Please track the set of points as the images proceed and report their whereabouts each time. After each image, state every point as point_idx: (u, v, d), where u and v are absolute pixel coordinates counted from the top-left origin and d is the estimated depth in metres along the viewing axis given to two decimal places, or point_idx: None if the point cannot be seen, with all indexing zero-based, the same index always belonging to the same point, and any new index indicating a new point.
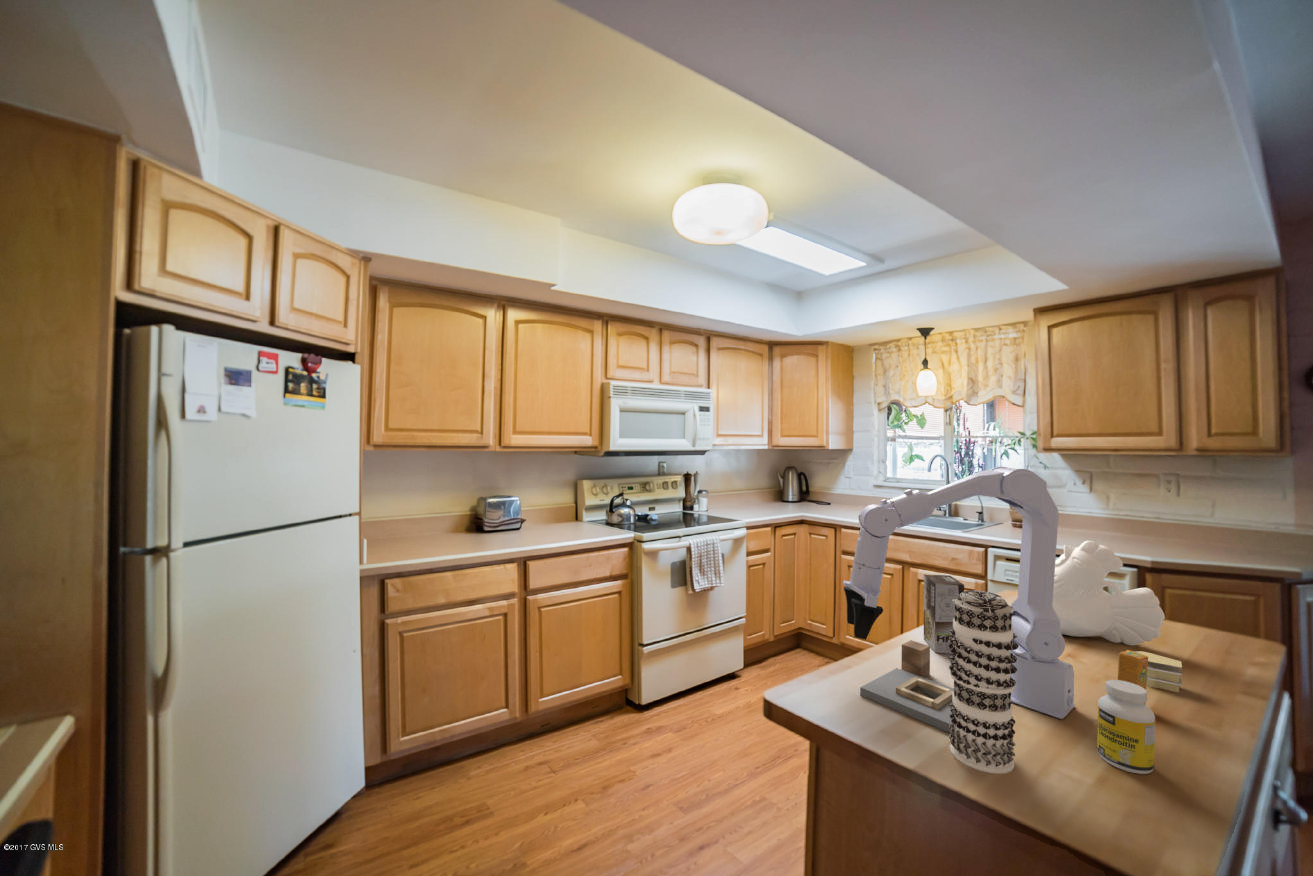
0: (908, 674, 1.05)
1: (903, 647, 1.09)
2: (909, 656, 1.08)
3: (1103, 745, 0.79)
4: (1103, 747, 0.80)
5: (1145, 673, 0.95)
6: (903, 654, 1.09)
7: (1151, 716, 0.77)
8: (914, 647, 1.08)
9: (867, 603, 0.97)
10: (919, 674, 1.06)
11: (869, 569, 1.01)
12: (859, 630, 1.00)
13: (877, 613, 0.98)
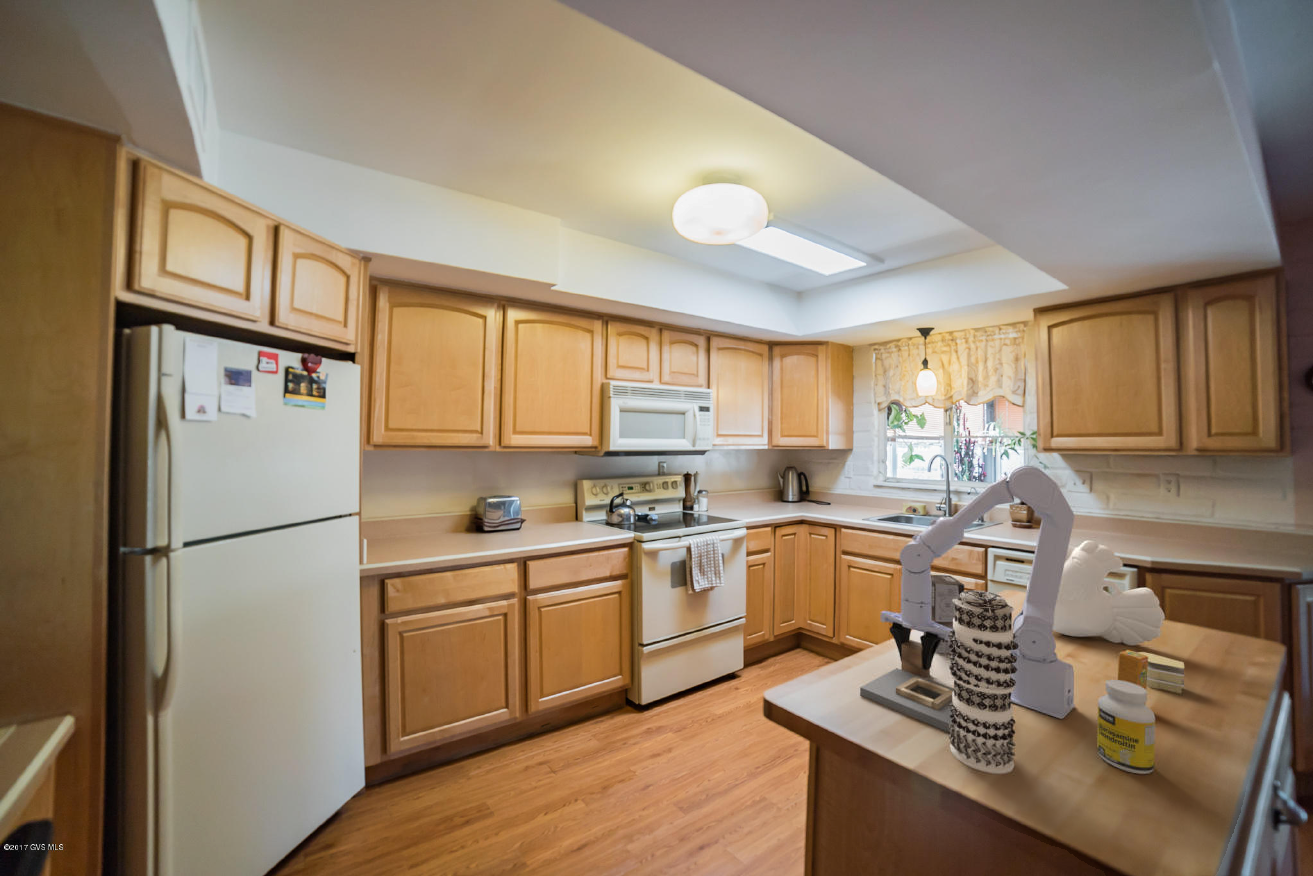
0: (908, 674, 1.05)
1: (903, 647, 1.09)
2: (909, 656, 1.08)
3: (1103, 745, 0.79)
4: (1103, 747, 0.80)
5: (1145, 673, 0.95)
6: (903, 654, 1.09)
7: (1151, 716, 0.77)
8: (914, 646, 1.08)
9: None
10: (919, 674, 1.06)
11: (929, 605, 1.07)
12: (928, 662, 1.07)
13: (940, 640, 1.07)
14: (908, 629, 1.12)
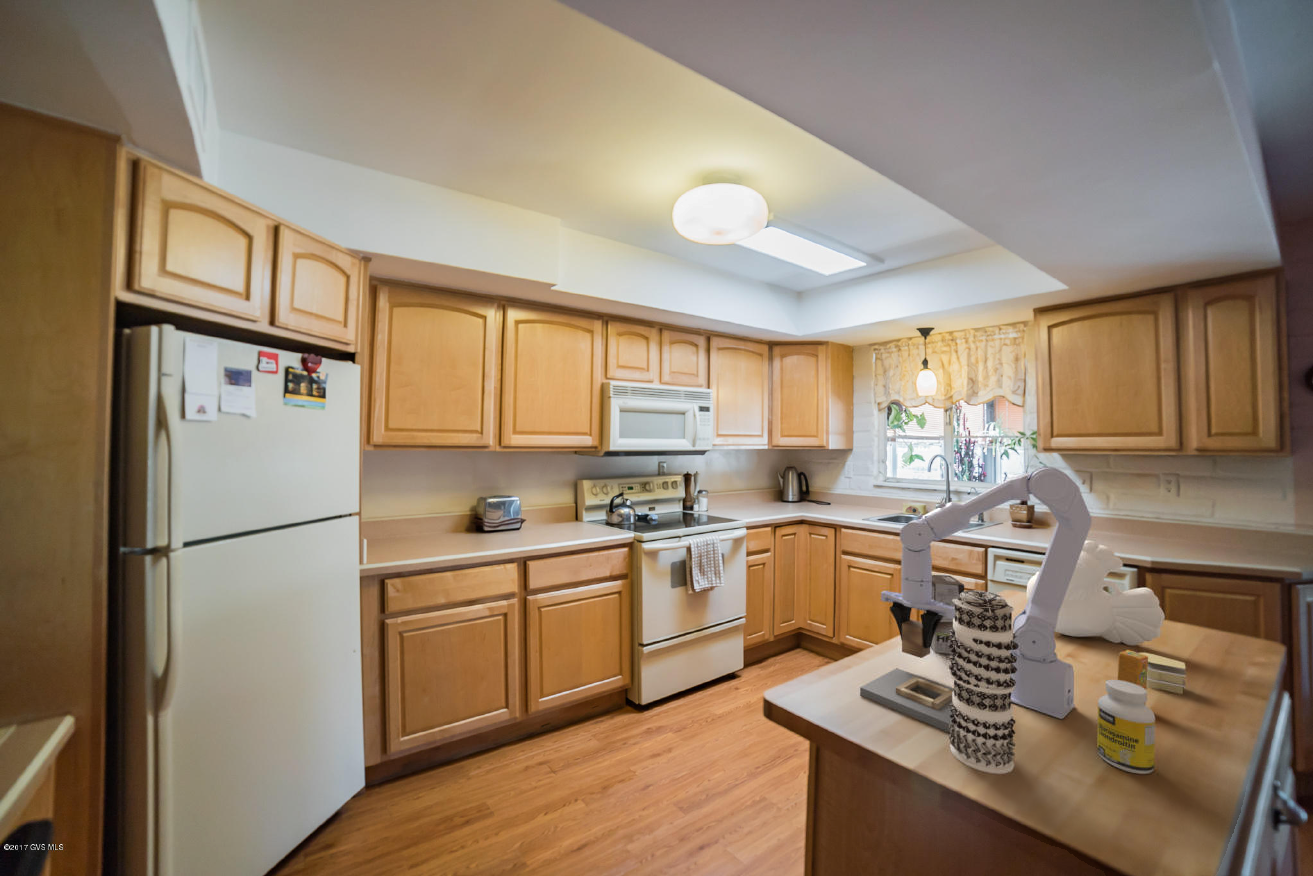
0: (908, 674, 1.05)
1: (903, 626, 1.09)
2: (909, 634, 1.08)
3: (1103, 745, 0.79)
4: (1103, 747, 0.80)
5: (1145, 673, 0.95)
6: (903, 633, 1.09)
7: (1151, 716, 0.77)
8: (915, 625, 1.08)
9: (951, 616, 1.03)
10: (919, 652, 1.06)
11: (929, 583, 1.07)
12: (928, 640, 1.07)
13: (941, 618, 1.07)
14: (908, 608, 1.12)
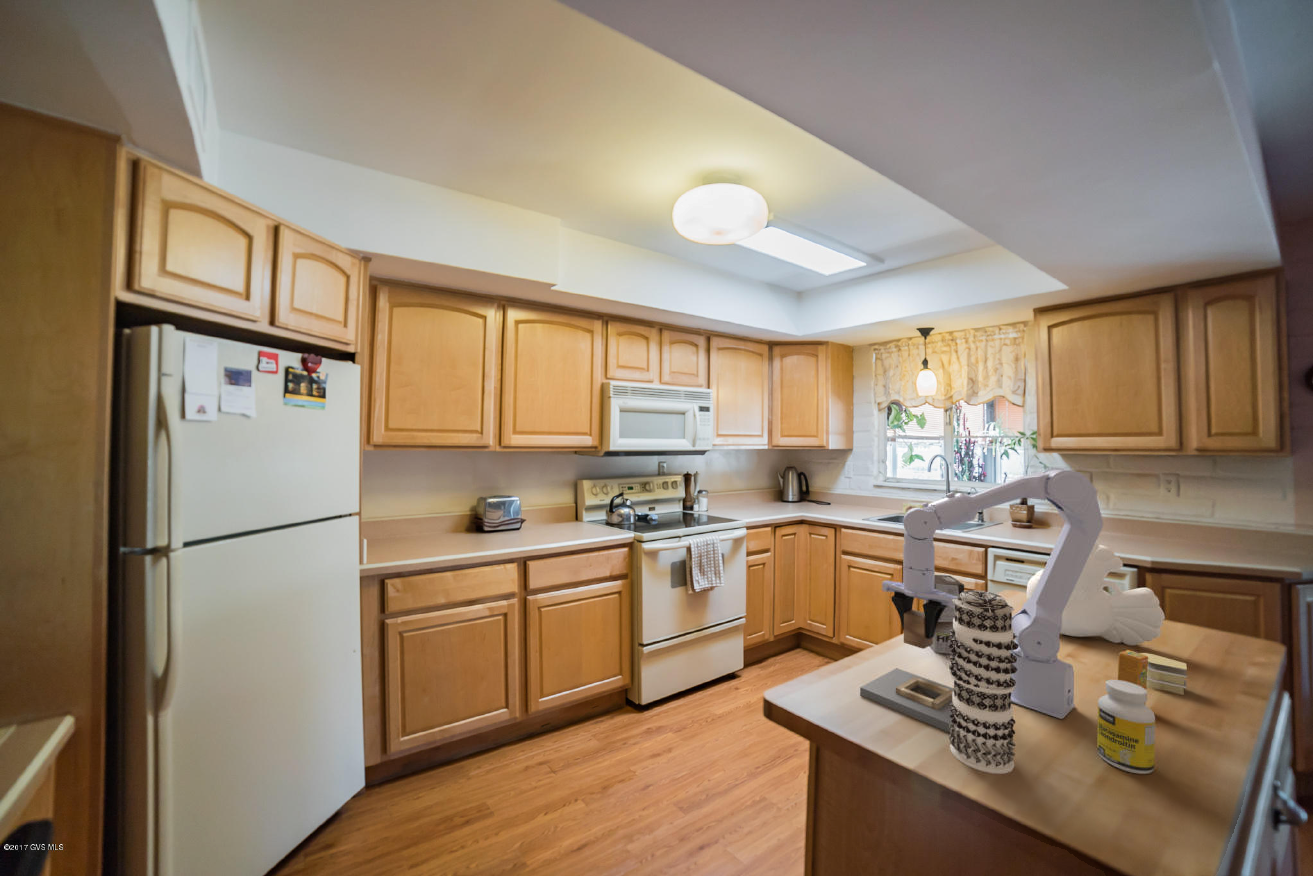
0: (908, 674, 1.05)
1: (905, 616, 1.06)
2: (911, 625, 1.05)
3: (1103, 745, 0.79)
4: (1103, 747, 0.80)
5: (1145, 673, 0.95)
6: (905, 623, 1.06)
7: (1151, 716, 0.77)
8: (917, 615, 1.05)
9: (954, 605, 1.00)
10: (922, 643, 1.04)
11: (932, 572, 1.04)
12: (931, 630, 1.04)
13: (944, 608, 1.04)
14: (910, 598, 1.09)
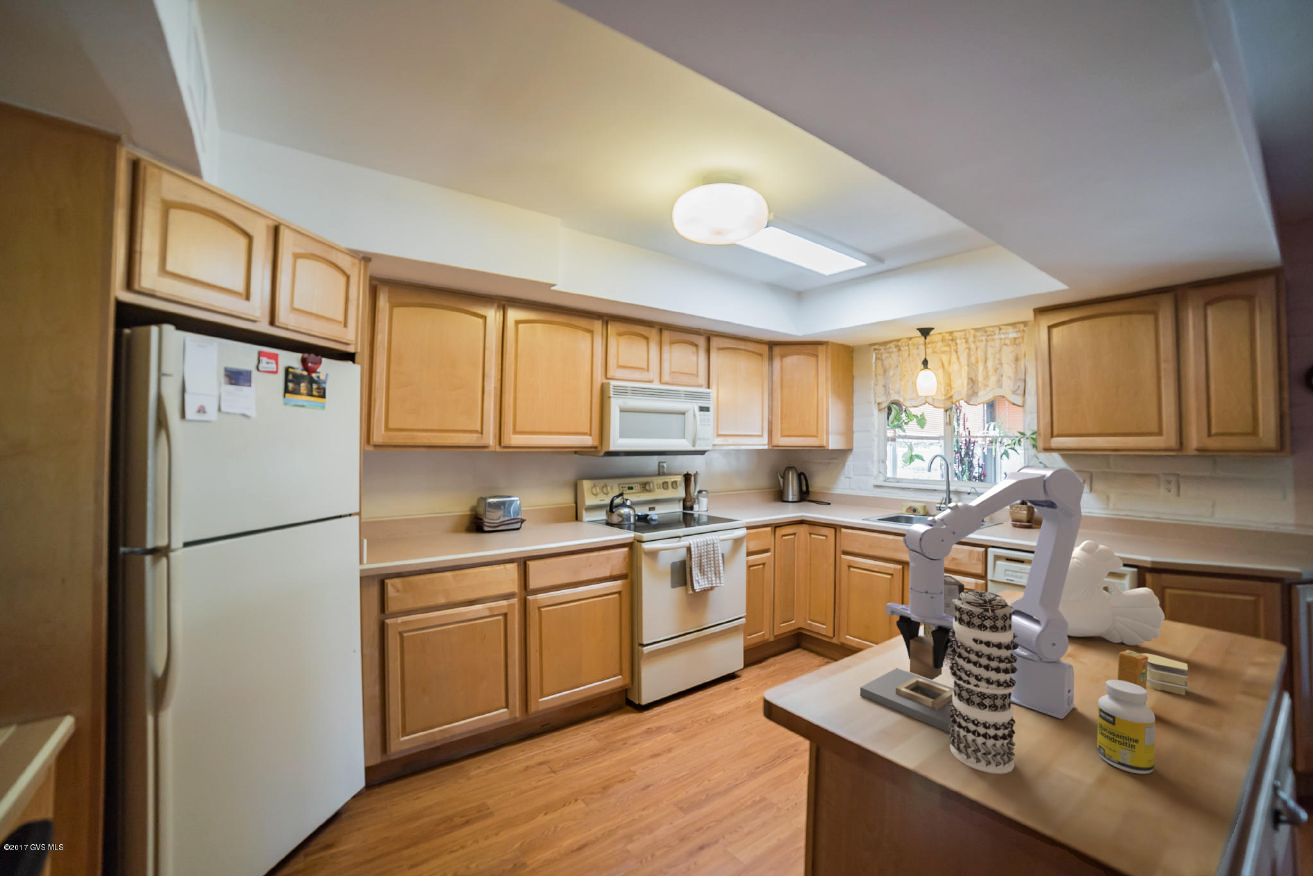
0: (908, 674, 1.05)
1: (912, 643, 0.97)
2: (918, 653, 0.96)
3: (1103, 745, 0.79)
4: (1103, 747, 0.80)
5: (1145, 673, 0.95)
6: (912, 651, 0.97)
7: (1151, 716, 0.77)
8: (925, 642, 0.96)
9: None
10: (930, 673, 0.94)
11: (941, 595, 0.94)
12: (940, 660, 0.94)
13: None
14: (917, 623, 0.99)
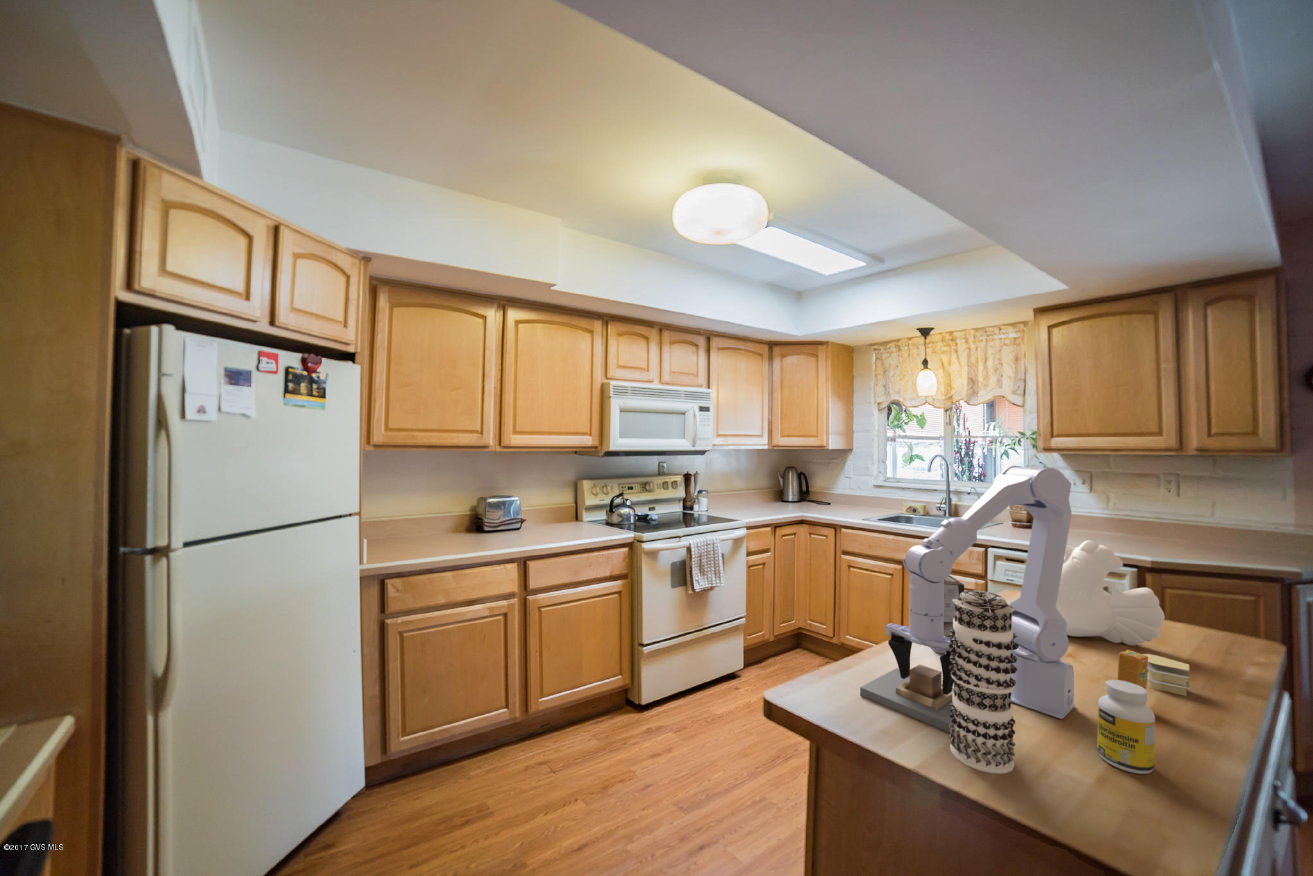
0: None
1: (911, 673, 0.97)
2: (918, 683, 0.96)
3: (1103, 745, 0.79)
4: (1103, 747, 0.80)
5: (1145, 673, 0.95)
6: (911, 681, 0.97)
7: (1151, 716, 0.77)
8: (924, 673, 0.96)
9: None
10: None
11: (941, 618, 0.94)
12: (949, 685, 0.93)
13: None
14: (909, 642, 1.00)
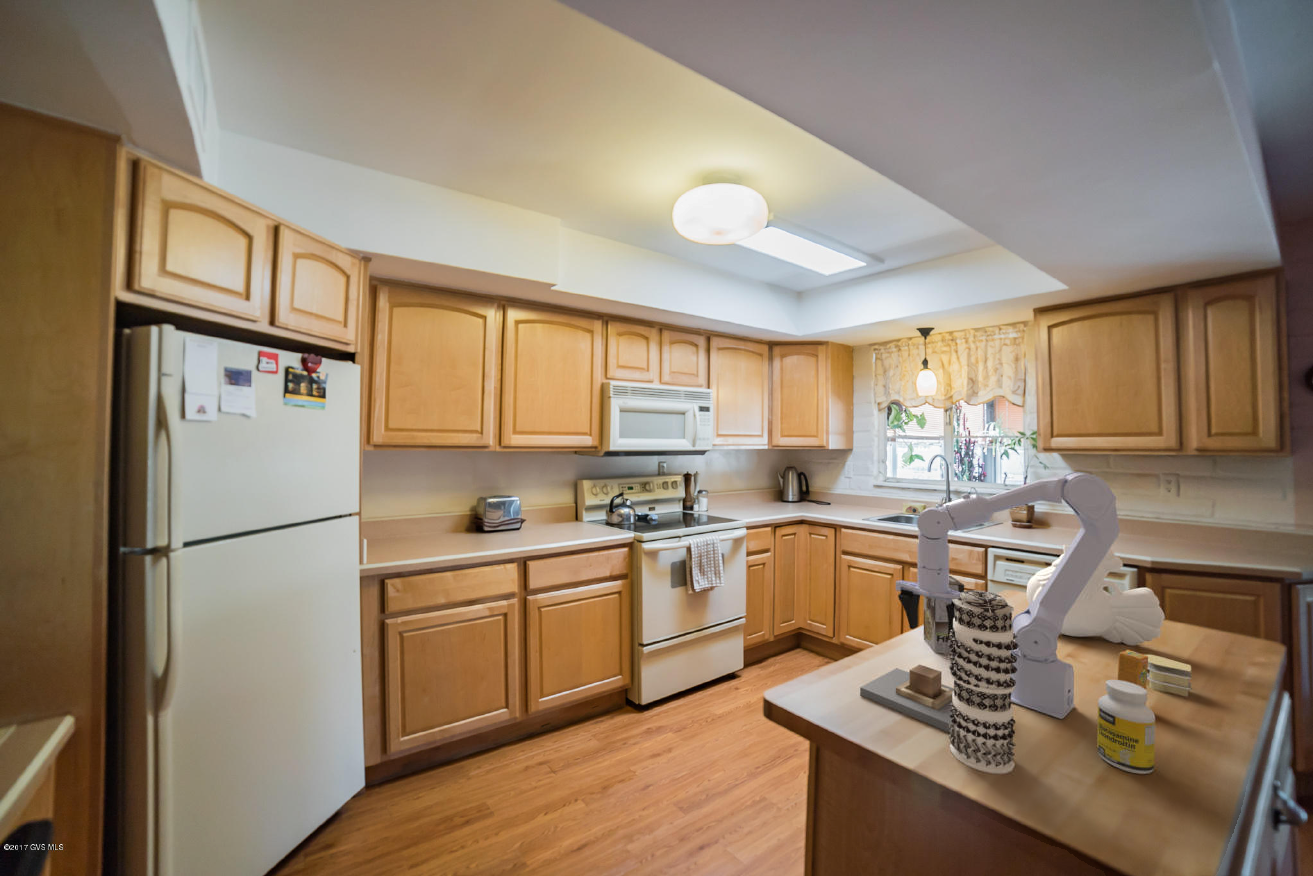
0: (908, 674, 1.05)
1: (911, 673, 0.97)
2: (918, 683, 0.96)
3: (1103, 745, 0.79)
4: (1103, 747, 0.80)
5: (1145, 673, 0.95)
6: (911, 681, 0.97)
7: (1151, 716, 0.77)
8: (924, 673, 0.96)
9: None
10: None
11: (946, 571, 1.04)
12: None
13: None
14: (917, 596, 1.10)
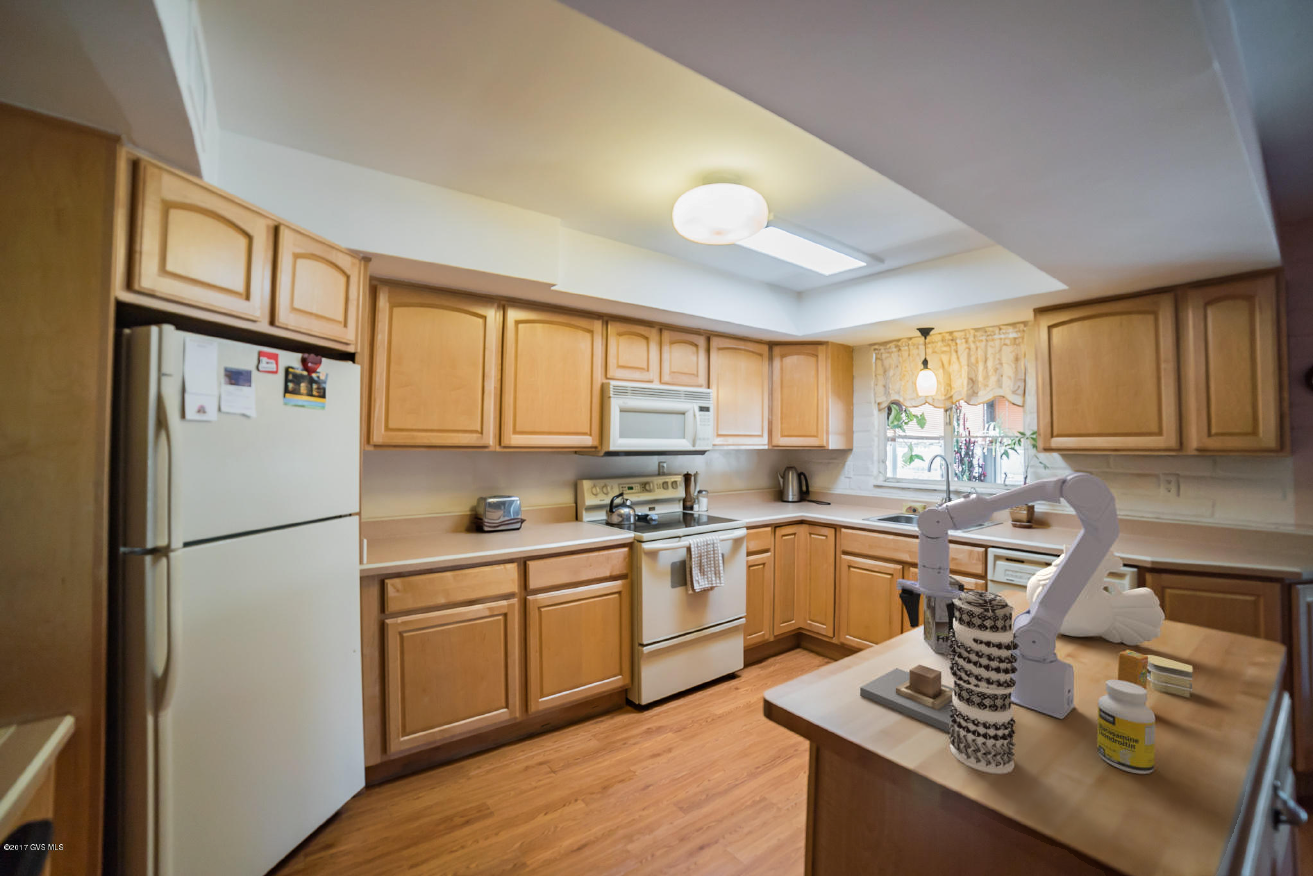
0: (908, 674, 1.05)
1: (911, 673, 0.97)
2: (918, 683, 0.96)
3: (1103, 745, 0.79)
4: (1103, 747, 0.80)
5: (1145, 673, 0.95)
6: (911, 681, 0.97)
7: (1151, 716, 0.77)
8: (924, 673, 0.96)
9: None
10: None
11: (947, 570, 1.05)
12: None
13: None
14: (917, 595, 1.11)
